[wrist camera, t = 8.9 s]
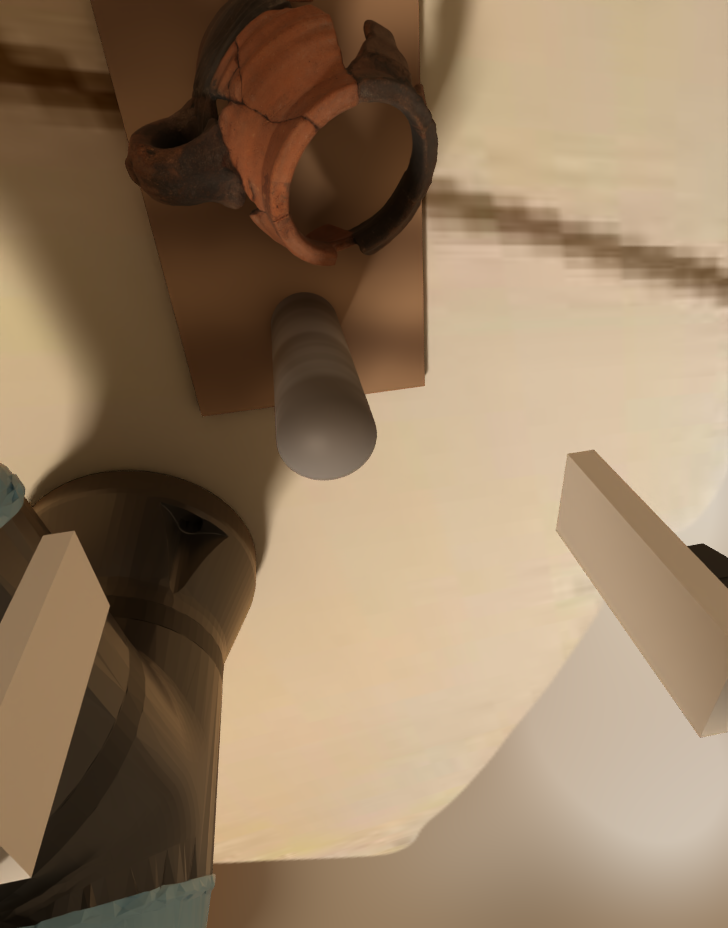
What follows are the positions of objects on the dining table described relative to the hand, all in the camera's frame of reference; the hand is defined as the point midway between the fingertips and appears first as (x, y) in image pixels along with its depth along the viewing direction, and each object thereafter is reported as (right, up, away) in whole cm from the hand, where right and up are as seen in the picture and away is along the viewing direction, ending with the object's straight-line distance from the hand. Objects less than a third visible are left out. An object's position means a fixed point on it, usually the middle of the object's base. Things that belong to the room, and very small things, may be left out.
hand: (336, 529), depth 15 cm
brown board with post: (-3, +14, +12) cm, 19 cm away
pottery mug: (-3, +17, +10) cm, 20 cm away
